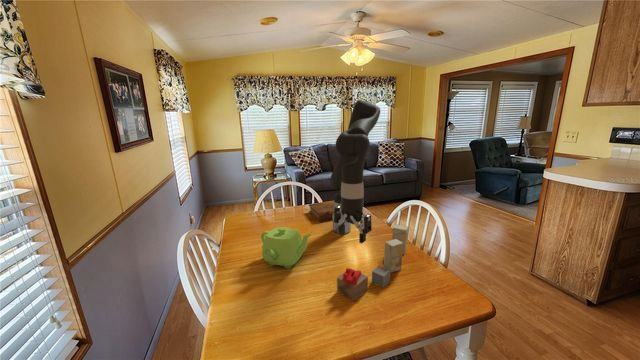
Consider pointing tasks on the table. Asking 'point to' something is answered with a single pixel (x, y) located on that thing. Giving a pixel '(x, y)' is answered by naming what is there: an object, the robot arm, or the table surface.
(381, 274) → the grey block
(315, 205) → the diary
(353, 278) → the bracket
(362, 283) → the walnut block
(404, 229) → the beige stone tall block
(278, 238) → the teapot
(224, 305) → the table surface
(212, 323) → the table surface
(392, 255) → the skincare box
